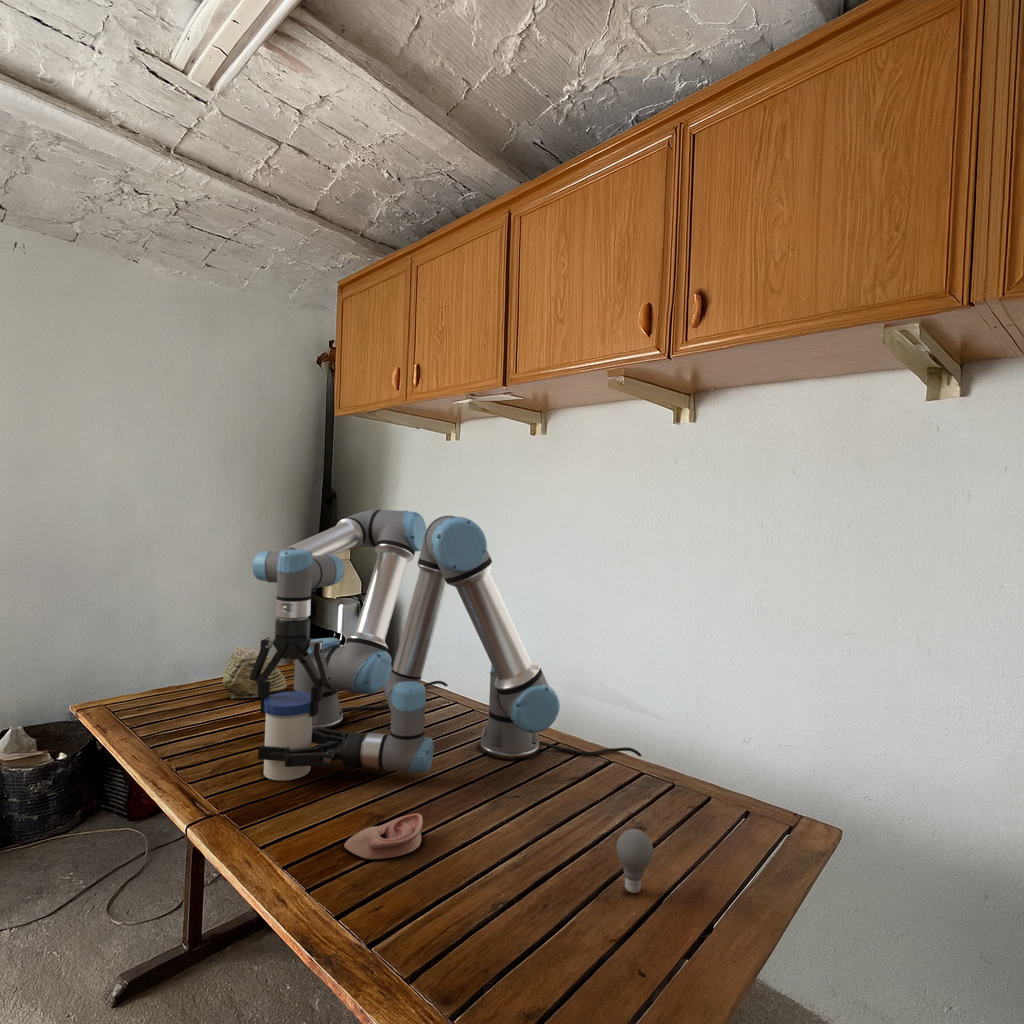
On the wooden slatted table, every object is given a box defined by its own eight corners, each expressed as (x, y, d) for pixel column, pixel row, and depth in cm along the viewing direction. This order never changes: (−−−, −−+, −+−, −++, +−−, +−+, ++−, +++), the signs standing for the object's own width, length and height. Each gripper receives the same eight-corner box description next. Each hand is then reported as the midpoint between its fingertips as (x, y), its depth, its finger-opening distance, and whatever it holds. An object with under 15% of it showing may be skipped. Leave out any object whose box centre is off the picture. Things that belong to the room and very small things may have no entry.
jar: (279, 759, 151) (281, 693, 151) (318, 764, 150) (321, 698, 149) (254, 777, 141) (256, 707, 141) (296, 783, 140) (298, 711, 139)
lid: (320, 701, 151) (320, 692, 151) (307, 717, 140) (307, 707, 140) (273, 699, 151) (273, 690, 150) (256, 715, 139) (256, 705, 139)
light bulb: (610, 879, 108) (613, 822, 108) (644, 879, 109) (647, 822, 109) (619, 902, 102) (622, 840, 102) (655, 901, 103) (658, 840, 103)
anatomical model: (336, 832, 112) (364, 802, 124) (336, 854, 112) (363, 822, 124) (407, 843, 110) (429, 812, 121) (406, 866, 110) (428, 832, 121)
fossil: (218, 695, 195) (220, 647, 195) (278, 685, 208) (279, 640, 207) (228, 703, 189) (230, 653, 188) (289, 692, 201) (290, 645, 201)
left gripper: (235, 617, 142) (231, 714, 142) (337, 623, 140) (333, 722, 141) (251, 611, 149) (248, 704, 150) (348, 617, 148) (344, 710, 148)
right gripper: (346, 789, 133) (245, 780, 134) (378, 747, 155) (291, 740, 157) (348, 753, 132) (246, 745, 134) (379, 717, 155) (292, 710, 157)
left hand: (289, 712), depth 145 cm, fingers closed on lid, 11 cm apart
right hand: (270, 743), depth 146 cm, fingers closed on jar, 10 cm apart
